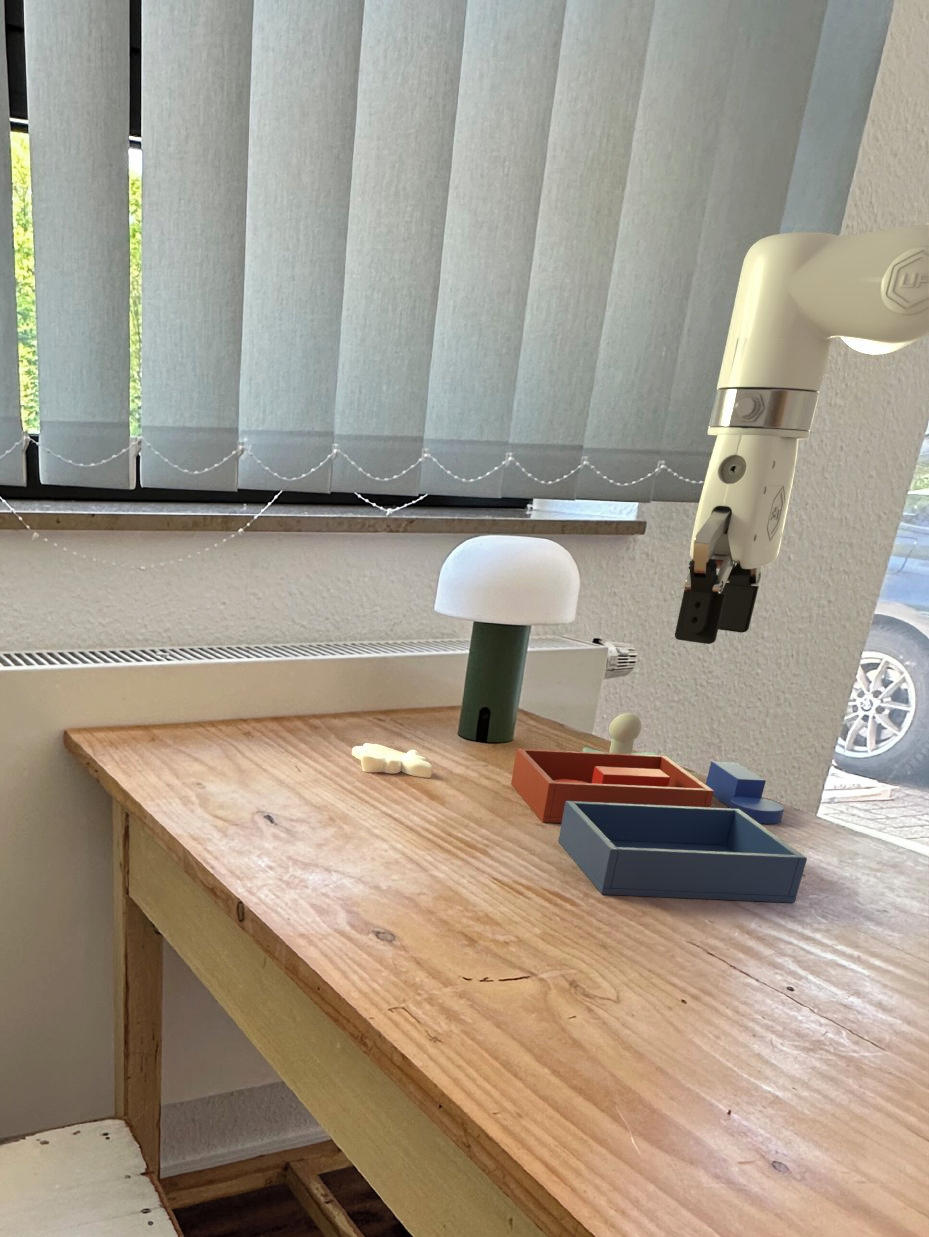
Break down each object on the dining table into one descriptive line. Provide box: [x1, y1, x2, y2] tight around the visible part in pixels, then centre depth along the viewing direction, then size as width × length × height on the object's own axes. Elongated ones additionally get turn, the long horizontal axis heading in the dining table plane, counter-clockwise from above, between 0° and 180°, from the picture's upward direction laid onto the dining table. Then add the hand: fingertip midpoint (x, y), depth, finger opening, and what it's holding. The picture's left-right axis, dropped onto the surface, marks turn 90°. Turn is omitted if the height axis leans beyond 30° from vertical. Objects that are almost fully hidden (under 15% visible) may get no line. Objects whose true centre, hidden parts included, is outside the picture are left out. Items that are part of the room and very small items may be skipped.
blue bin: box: [557, 801, 808, 904], centre depth 82 cm, size 14×11×4 cm
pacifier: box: [582, 712, 660, 756], centre depth 107 cm, size 7×6×6 cm
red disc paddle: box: [553, 766, 670, 787], centre depth 96 cm, size 10×4×3 cm, turn 90°
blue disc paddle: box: [705, 760, 785, 825], centre depth 99 cm, size 10×4×3 cm, turn 0°
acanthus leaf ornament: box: [351, 742, 434, 779], centre depth 105 cm, size 8×7×2 cm
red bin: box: [510, 748, 714, 824], centre depth 96 cm, size 14×11×4 cm
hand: (711, 635), depth 92 cm, fingers open, 9 cm apart
